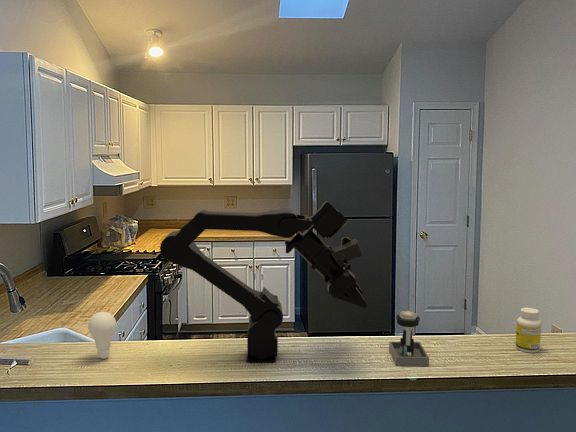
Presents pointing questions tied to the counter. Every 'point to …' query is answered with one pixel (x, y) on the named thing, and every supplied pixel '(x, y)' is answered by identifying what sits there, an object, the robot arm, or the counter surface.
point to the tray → (416, 360)
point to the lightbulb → (102, 332)
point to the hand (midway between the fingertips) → (364, 300)
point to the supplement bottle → (528, 331)
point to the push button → (407, 331)
